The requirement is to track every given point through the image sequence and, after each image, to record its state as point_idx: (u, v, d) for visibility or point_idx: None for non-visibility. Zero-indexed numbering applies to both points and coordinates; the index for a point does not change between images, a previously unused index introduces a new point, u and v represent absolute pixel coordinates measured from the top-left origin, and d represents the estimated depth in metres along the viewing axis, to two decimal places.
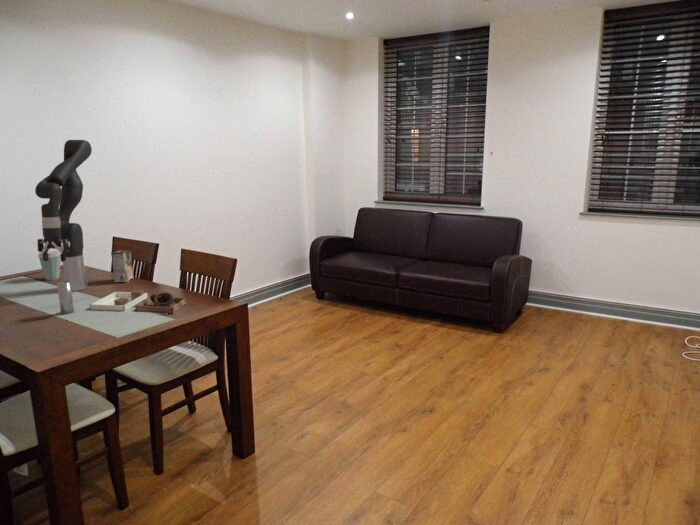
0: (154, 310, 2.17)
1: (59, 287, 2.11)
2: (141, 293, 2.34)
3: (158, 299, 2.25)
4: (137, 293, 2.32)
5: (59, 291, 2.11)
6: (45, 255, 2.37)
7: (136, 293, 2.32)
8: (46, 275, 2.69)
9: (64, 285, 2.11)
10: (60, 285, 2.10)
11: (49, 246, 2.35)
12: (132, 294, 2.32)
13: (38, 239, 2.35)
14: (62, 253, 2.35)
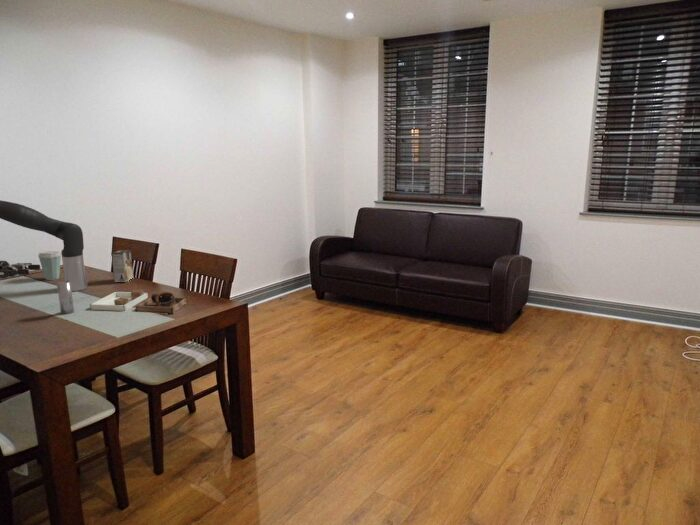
0: (154, 310, 2.17)
1: (59, 287, 2.11)
2: (141, 293, 2.34)
3: (159, 299, 2.26)
4: (137, 293, 2.32)
5: (59, 291, 2.11)
6: (32, 268, 2.14)
7: (136, 293, 2.32)
8: (46, 275, 2.69)
9: (64, 285, 2.11)
10: (60, 285, 2.10)
11: None
12: (132, 294, 2.32)
13: None
14: (17, 275, 2.06)
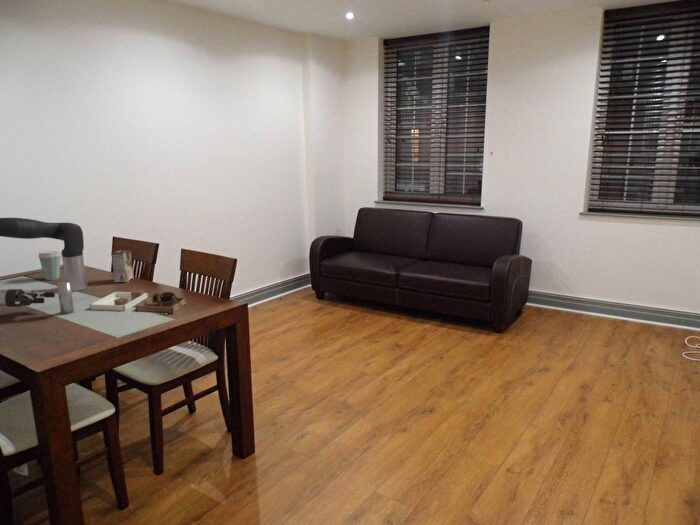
0: (154, 310, 2.17)
1: (59, 287, 2.11)
2: (141, 293, 2.34)
3: (161, 298, 2.26)
4: (137, 293, 2.32)
5: (59, 291, 2.11)
6: (47, 296, 2.17)
7: (136, 293, 2.32)
8: (46, 275, 2.69)
9: (64, 285, 2.11)
10: (60, 285, 2.10)
11: None
12: (132, 294, 2.32)
13: None
14: (33, 303, 2.09)
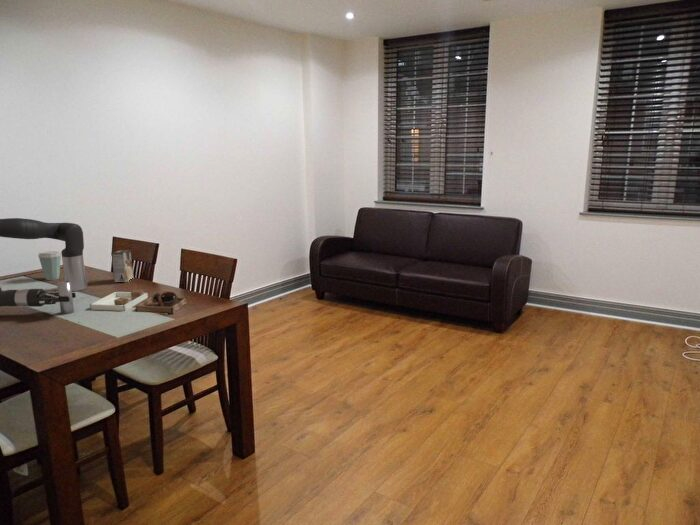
0: (154, 310, 2.17)
1: (59, 287, 2.11)
2: (141, 293, 2.34)
3: (162, 298, 2.27)
4: (137, 293, 2.32)
5: (59, 291, 2.11)
6: None
7: (136, 293, 2.32)
8: (46, 275, 2.69)
9: (64, 285, 2.11)
10: (60, 285, 2.10)
11: None
12: (132, 294, 2.32)
13: None
14: (58, 302, 2.11)
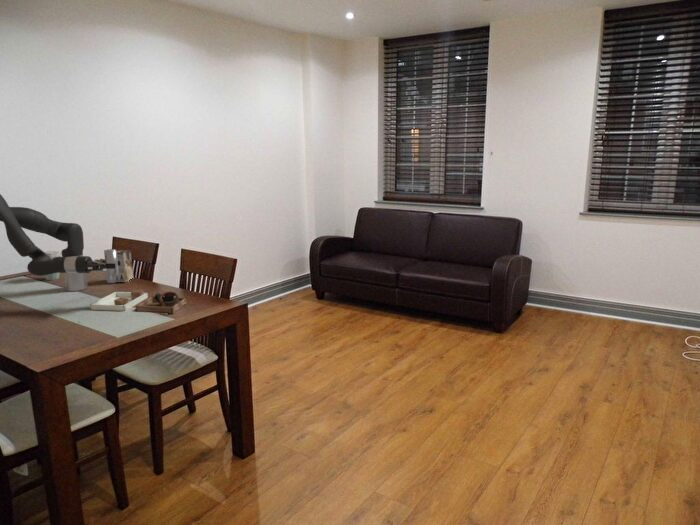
0: (154, 310, 2.17)
1: (106, 254, 2.20)
2: (141, 293, 2.34)
3: (162, 298, 2.26)
4: (137, 293, 2.32)
5: (106, 258, 2.20)
6: None
7: (136, 293, 2.32)
8: (46, 275, 2.69)
9: (111, 252, 2.20)
10: (107, 252, 2.20)
11: None
12: (132, 294, 2.32)
13: None
14: None
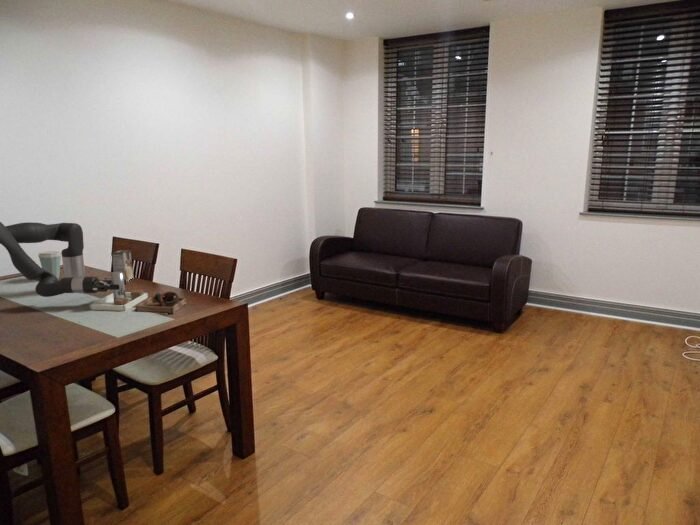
0: (154, 310, 2.17)
1: (113, 277, 2.23)
2: (141, 293, 2.34)
3: (162, 298, 2.26)
4: (137, 293, 2.32)
5: (113, 281, 2.24)
6: None
7: (136, 293, 2.32)
8: None
9: (118, 275, 2.24)
10: (114, 275, 2.23)
11: None
12: (132, 294, 2.32)
13: None
14: None
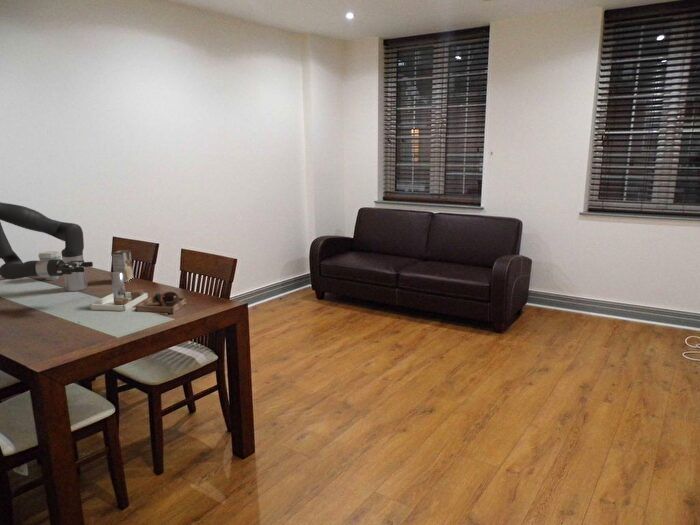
0: (154, 310, 2.17)
1: (113, 277, 2.24)
2: (141, 293, 2.34)
3: (162, 298, 2.26)
4: (137, 293, 2.32)
5: (113, 281, 2.24)
6: (86, 265, 2.28)
7: (136, 293, 2.32)
8: None
9: (118, 275, 2.24)
10: (114, 275, 2.23)
11: None
12: (132, 294, 2.32)
13: None
14: (74, 272, 2.19)
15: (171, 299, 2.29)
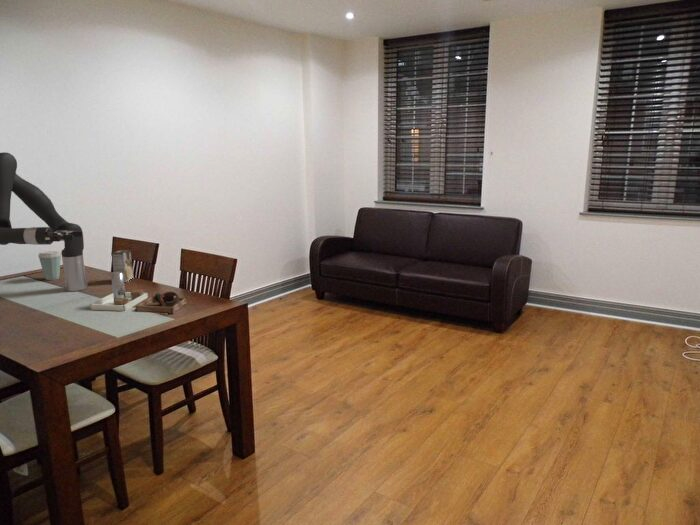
0: (154, 310, 2.17)
1: (113, 277, 2.24)
2: (141, 293, 2.34)
3: (162, 298, 2.26)
4: (137, 293, 2.32)
5: (113, 281, 2.24)
6: (75, 235, 2.23)
7: (136, 293, 2.32)
8: (46, 275, 2.69)
9: (118, 275, 2.24)
10: (114, 275, 2.23)
11: None
12: (132, 294, 2.32)
13: None
14: (62, 240, 2.15)
15: (171, 299, 2.29)
